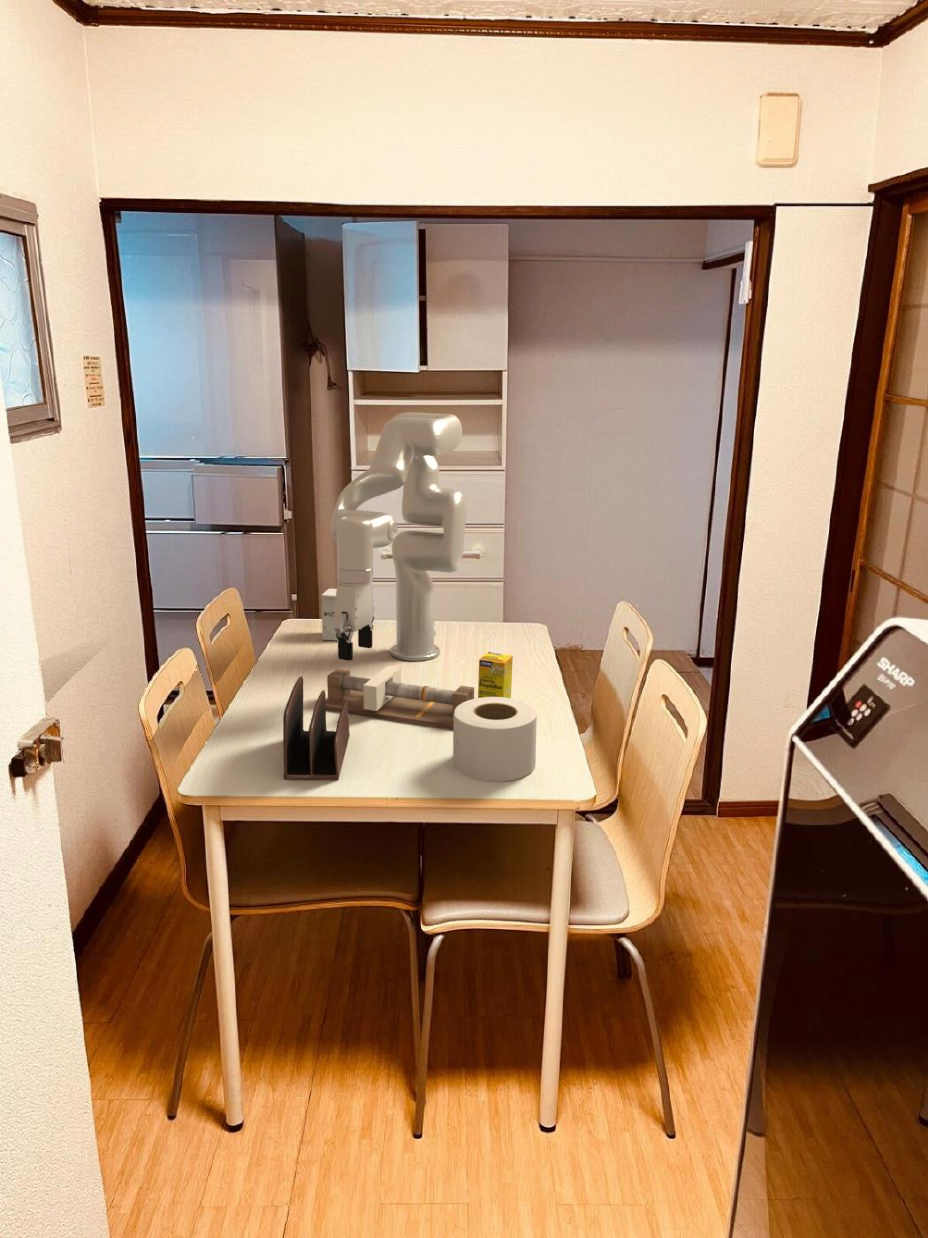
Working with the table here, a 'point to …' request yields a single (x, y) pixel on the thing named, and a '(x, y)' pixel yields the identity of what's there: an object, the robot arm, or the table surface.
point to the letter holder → (312, 740)
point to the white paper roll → (494, 739)
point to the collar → (380, 688)
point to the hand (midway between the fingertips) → (355, 653)
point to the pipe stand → (397, 700)
